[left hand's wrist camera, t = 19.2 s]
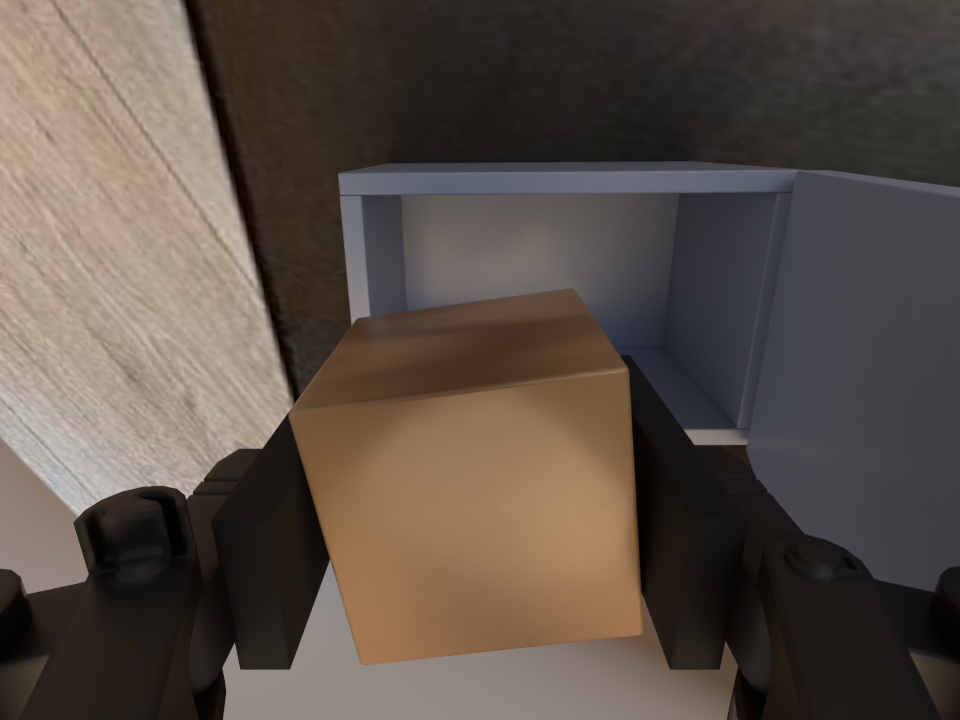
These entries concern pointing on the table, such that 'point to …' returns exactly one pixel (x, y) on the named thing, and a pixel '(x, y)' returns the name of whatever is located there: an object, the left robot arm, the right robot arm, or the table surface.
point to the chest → (591, 260)
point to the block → (476, 478)
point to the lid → (866, 373)
